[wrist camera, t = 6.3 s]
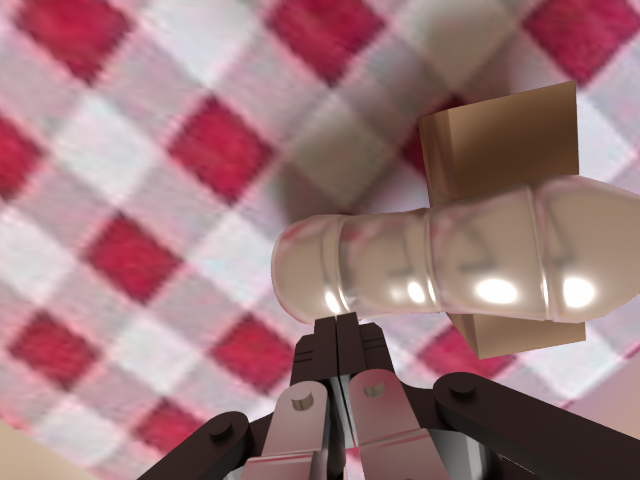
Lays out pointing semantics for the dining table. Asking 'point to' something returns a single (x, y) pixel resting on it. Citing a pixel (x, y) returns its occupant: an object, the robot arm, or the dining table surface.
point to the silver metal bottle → (470, 256)
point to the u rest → (503, 185)
